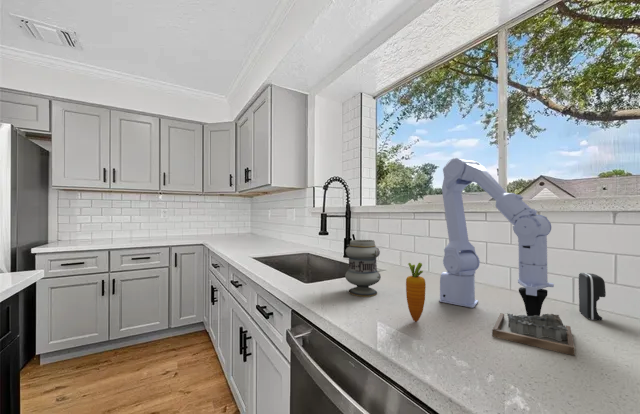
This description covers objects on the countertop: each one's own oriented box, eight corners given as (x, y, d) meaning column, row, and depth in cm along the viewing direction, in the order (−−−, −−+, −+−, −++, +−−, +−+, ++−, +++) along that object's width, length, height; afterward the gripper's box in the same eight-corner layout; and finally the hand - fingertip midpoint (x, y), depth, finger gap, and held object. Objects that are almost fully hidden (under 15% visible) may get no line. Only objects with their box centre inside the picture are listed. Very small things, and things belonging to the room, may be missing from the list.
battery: (608, 323, 72) (607, 277, 72) (588, 320, 73) (587, 275, 74) (596, 314, 78) (595, 272, 78) (578, 312, 80) (577, 271, 80)
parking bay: (492, 336, 63) (492, 329, 63) (500, 318, 74) (500, 313, 74) (574, 355, 55) (574, 347, 55) (570, 332, 65) (570, 326, 65)
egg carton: (561, 332, 66) (561, 314, 66) (569, 345, 60) (569, 325, 60) (507, 322, 72) (506, 306, 72) (509, 333, 65) (509, 315, 65)
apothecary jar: (340, 289, 102) (340, 239, 103) (371, 287, 105) (371, 238, 106) (352, 298, 91) (352, 242, 91) (386, 296, 93) (386, 241, 94)
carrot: (402, 318, 73) (402, 260, 74) (420, 318, 74) (420, 260, 74) (410, 326, 68) (409, 263, 69) (429, 325, 69) (429, 263, 69)
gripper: (553, 269, 62) (554, 332, 62) (553, 261, 74) (554, 314, 73) (514, 266, 67) (515, 324, 67) (520, 258, 78) (520, 308, 78)
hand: (533, 318), depth 70 cm, fingers closed
